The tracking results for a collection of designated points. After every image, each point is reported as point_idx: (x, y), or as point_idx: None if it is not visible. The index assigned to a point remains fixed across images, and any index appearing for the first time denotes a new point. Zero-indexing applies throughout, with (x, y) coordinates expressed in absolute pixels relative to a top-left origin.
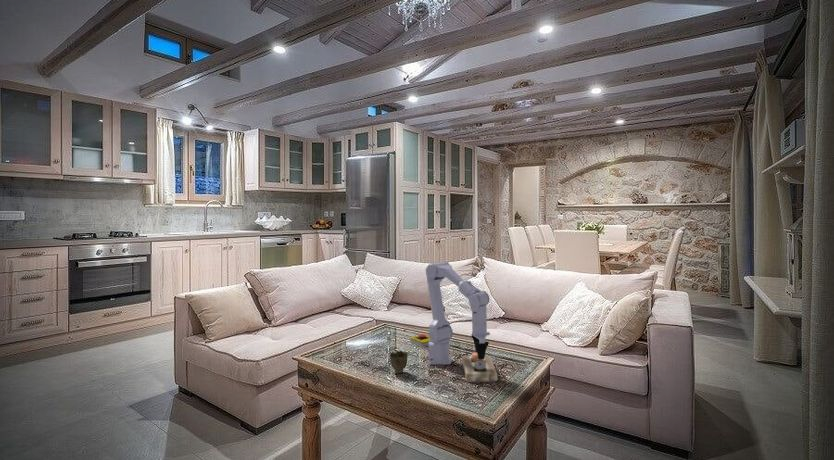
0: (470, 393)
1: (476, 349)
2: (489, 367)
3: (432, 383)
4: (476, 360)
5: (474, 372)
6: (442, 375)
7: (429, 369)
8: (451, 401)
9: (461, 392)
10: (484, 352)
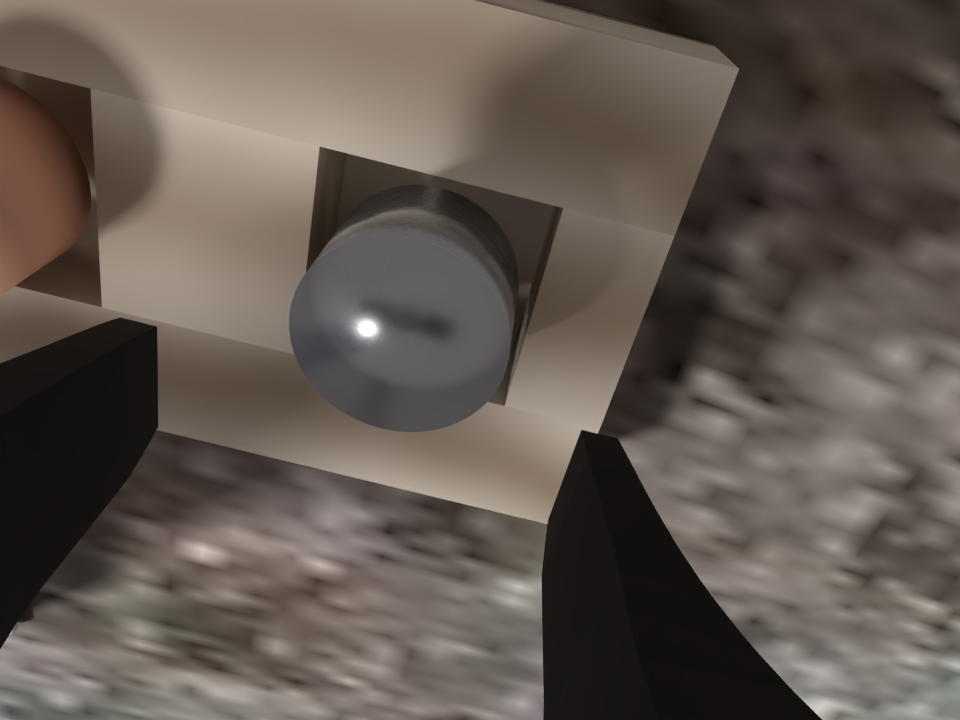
0: (891, 524)
1: (113, 474)
2: (380, 94)
3: (498, 717)
4: (60, 232)
5: (538, 417)
6: (321, 604)
7: (147, 652)
8: (952, 709)
9: (815, 587)
10: (675, 572)
